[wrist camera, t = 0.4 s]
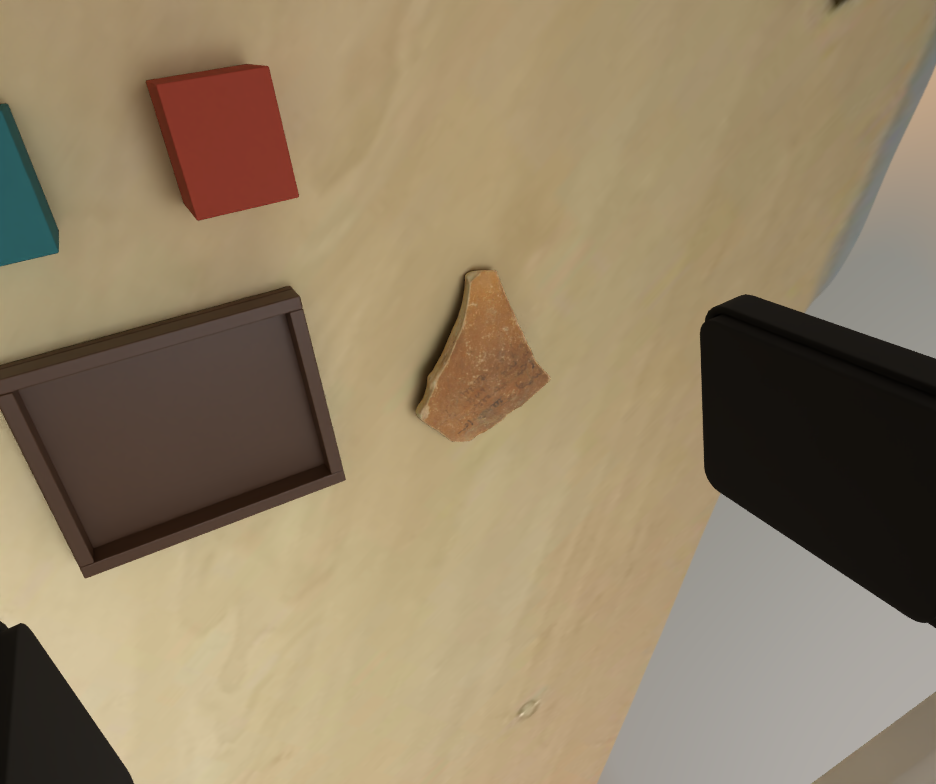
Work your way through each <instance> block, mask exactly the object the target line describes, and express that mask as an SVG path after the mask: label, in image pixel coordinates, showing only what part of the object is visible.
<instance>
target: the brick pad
mask: <svg viewBox="0 0 936 784" xmlns="http://www.w3.org/2000/svg"><path fill="white" fill-rule="evenodd" d="M146 84H147V87H148V90H149V93H150V97H151V100H152V103H153V106H154V109H155V113H156V116H157V119H158V122H159V126H160V129H161V132H162V135H163V138H164V142H165V145H166V148H167V151H168V155H169V158H170V161H171V164H172V167H173V171H174V174H175V177H176V180H177V183H178V187H179V190H180V193H181V196H182V200H183V203H184V204H185V206H186V207H187V208H188V209H189V211H190V212H191V213H192V214H193V216H194V217H195V218H196V219H197V220H203V219H207V218H211V217H216V216H220V215H224V214H229V213H233V212H237V211H242V210H246V209H250V208H255V207H259V206H263V205H268V204H272V203H276V202H280V201H285V200H289V199H293V198H298V197H299V194H298V190H297V185H296V181H295V177H294V173H293V168H292V164H291V160H290V155H289V151H288V147H287V143H286V138H285V134H284V130H283V126H282V121H281V117H280V113H279V108H278V104H277V100H276V96H275V91H274V87H273V83H272V79H271V74H270V70H269V67H268V66H262V65H252V64H244V65H238V66H232V67H226V68H220V69H214V70H207V71H201V72H195V73H189V74H183V75H177V76H170V77H164V78H158V79H152V80H147V81H146Z"/></svg>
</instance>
